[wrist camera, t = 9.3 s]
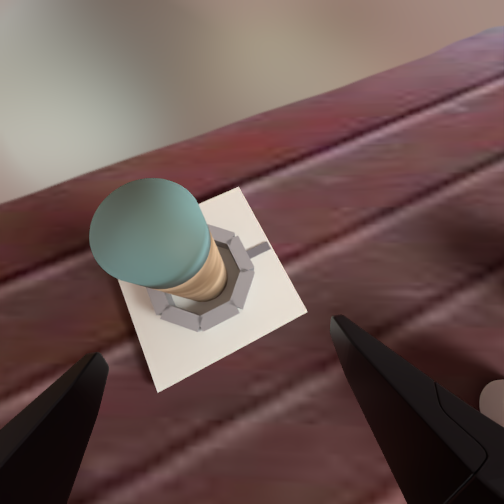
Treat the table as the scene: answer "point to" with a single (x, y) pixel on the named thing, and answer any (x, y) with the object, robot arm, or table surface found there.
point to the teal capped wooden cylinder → (158, 240)
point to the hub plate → (216, 299)
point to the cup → (493, 401)
